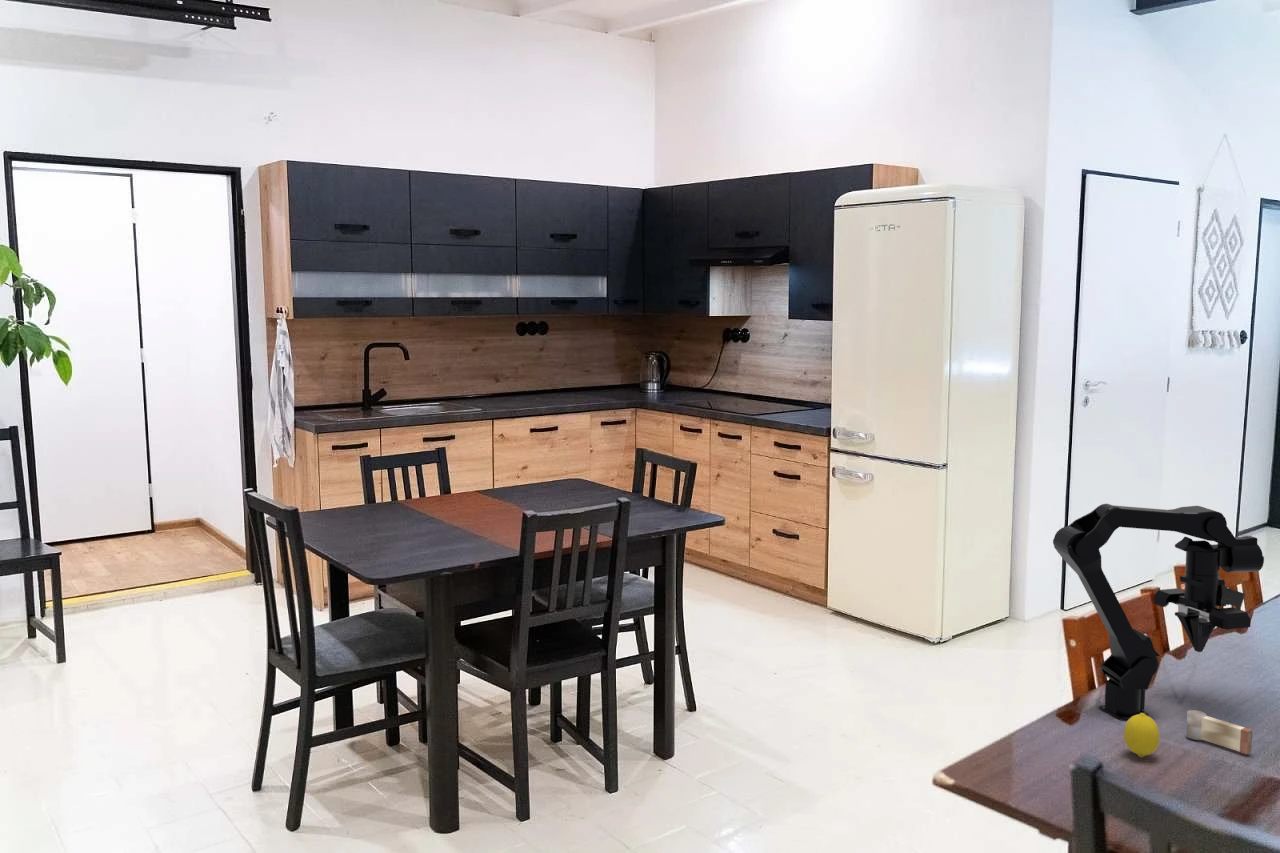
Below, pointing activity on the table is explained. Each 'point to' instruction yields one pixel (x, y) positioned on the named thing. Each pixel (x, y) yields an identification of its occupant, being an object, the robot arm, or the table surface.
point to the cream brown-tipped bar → (1218, 732)
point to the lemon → (1141, 734)
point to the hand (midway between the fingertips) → (1198, 651)
